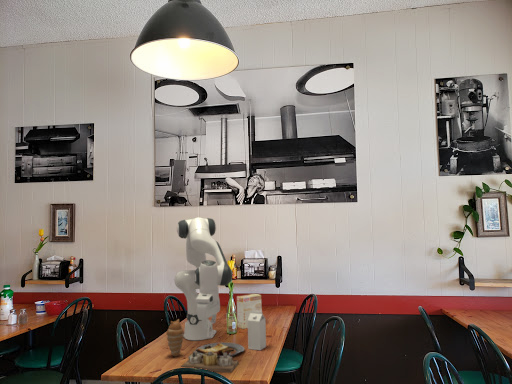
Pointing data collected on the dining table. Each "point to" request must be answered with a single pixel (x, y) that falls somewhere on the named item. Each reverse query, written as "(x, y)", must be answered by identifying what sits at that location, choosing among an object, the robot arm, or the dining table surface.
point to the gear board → (222, 365)
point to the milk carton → (256, 331)
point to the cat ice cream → (175, 337)
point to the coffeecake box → (247, 308)
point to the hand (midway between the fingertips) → (209, 325)
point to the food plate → (220, 348)
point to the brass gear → (209, 359)
